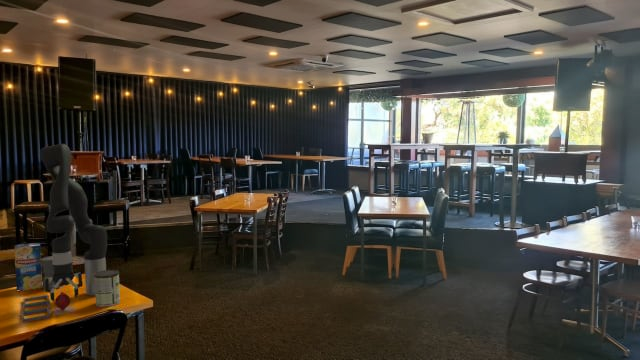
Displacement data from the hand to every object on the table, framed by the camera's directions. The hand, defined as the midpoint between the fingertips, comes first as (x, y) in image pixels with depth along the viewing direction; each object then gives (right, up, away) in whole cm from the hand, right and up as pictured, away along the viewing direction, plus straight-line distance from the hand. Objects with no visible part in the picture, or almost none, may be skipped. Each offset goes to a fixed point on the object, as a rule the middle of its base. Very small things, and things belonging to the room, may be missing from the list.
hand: (64, 298), depth 206 cm
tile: (-1, -5, 0) cm, 5 cm away
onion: (-1, -5, 0) cm, 5 cm away
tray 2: (-14, -5, +3) cm, 16 cm away
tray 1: (-20, -5, +13) cm, 24 cm away
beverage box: (-36, -4, +34) cm, 50 cm away
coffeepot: (-24, -3, +36) cm, 44 cm away
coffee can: (+14, -5, +11) cm, 18 cm away
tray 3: (-9, -6, -6) cm, 12 cm away
